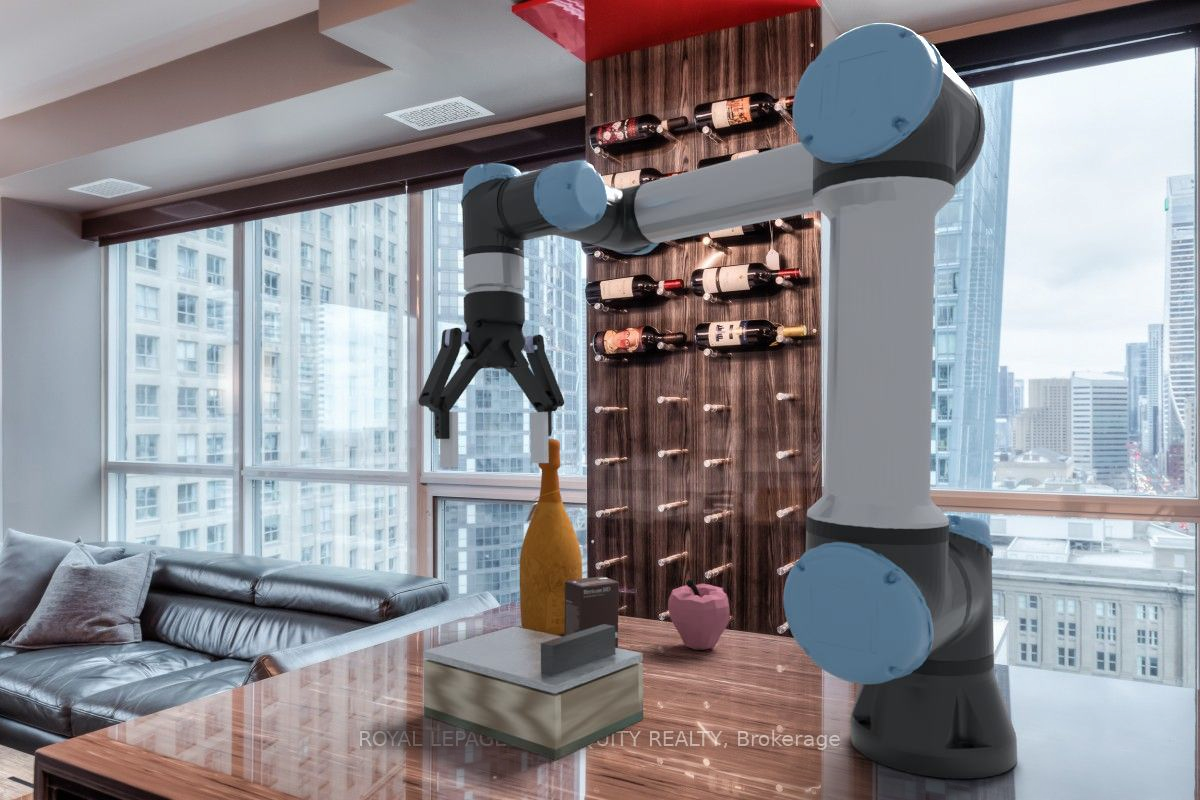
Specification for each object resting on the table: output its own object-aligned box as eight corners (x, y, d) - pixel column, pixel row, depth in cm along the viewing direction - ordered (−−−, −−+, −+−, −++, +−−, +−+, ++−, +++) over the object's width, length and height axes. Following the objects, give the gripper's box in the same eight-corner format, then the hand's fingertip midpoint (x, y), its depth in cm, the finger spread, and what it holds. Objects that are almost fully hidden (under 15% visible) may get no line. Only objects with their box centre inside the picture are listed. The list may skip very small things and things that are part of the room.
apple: (733, 657, 113) (732, 583, 114) (670, 656, 114) (669, 584, 114) (725, 638, 123) (724, 571, 123) (667, 638, 123) (666, 571, 124)
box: (581, 683, 103) (580, 585, 103) (563, 674, 106) (562, 580, 107) (621, 674, 106) (620, 580, 106) (602, 666, 110) (600, 575, 110)
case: (643, 719, 90) (642, 663, 90) (555, 760, 79) (555, 696, 79) (514, 683, 102) (514, 635, 103) (424, 715, 92) (423, 660, 92)
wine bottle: (557, 619, 136) (555, 438, 137) (595, 630, 129) (593, 438, 130) (507, 629, 130) (506, 439, 131) (544, 641, 122) (542, 439, 123)
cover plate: (642, 660, 90) (642, 625, 90) (555, 693, 79) (554, 653, 79) (514, 632, 103) (513, 602, 103) (423, 658, 92) (423, 623, 92)
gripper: (552, 306, 113) (554, 460, 113) (388, 287, 96) (389, 469, 96) (589, 299, 108) (591, 461, 107) (421, 277, 91) (423, 470, 90)
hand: (496, 465), depth 101 cm, fingers open, 13 cm apart
